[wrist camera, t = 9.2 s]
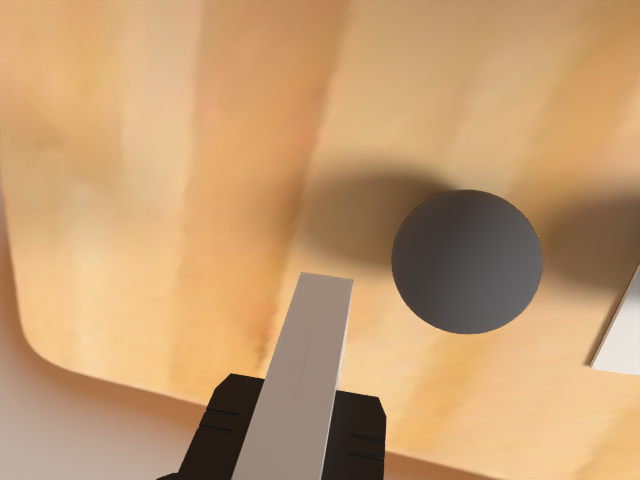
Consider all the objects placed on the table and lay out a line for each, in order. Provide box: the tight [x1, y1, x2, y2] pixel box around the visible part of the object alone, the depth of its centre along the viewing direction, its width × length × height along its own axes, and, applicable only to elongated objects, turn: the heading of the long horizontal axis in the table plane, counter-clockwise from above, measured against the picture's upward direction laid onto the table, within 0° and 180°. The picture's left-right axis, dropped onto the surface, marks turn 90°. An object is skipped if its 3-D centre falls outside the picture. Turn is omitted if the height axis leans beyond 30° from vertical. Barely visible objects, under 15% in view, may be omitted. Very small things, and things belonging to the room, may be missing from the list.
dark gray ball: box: [392, 190, 542, 334], centre depth 18 cm, size 6×6×6 cm
